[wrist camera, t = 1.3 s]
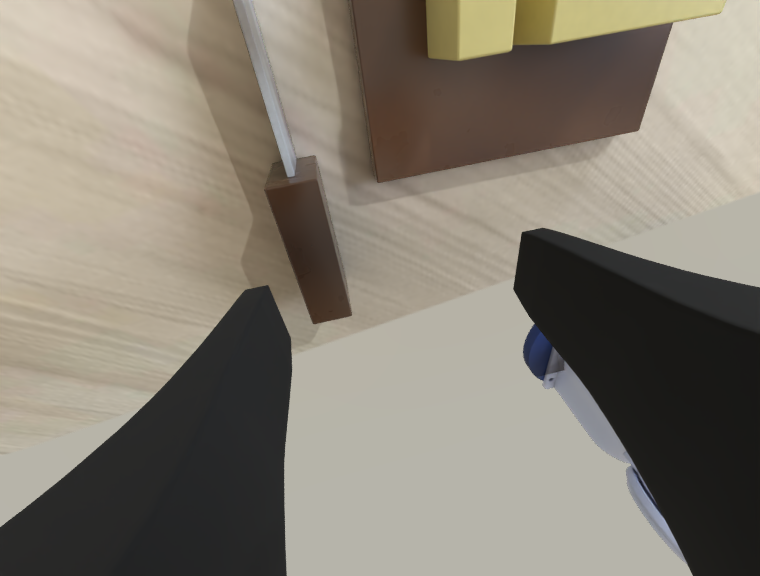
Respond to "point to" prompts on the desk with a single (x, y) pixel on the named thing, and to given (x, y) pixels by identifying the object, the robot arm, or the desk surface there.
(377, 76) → the butter board
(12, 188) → the desk surface
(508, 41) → the butter pat
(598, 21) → the butter
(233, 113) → the desk surface
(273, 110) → the knife
